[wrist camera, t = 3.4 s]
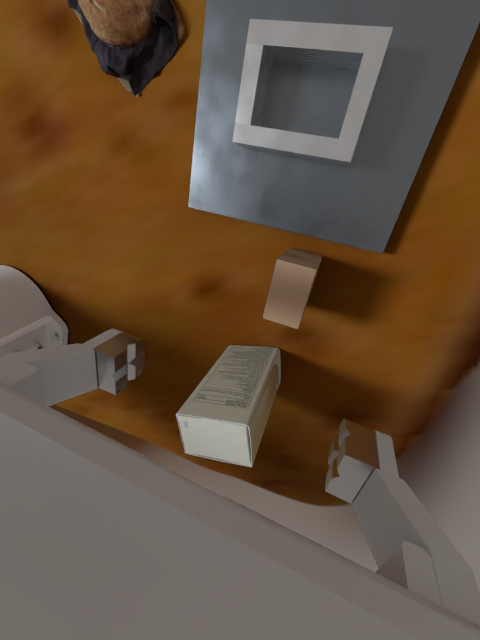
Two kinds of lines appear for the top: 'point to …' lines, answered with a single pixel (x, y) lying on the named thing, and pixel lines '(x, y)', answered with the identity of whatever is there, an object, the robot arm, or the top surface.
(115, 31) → the bread roll
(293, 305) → the walnut peg
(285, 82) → the metal duct collar
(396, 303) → the top surface
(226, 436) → the skincare box
